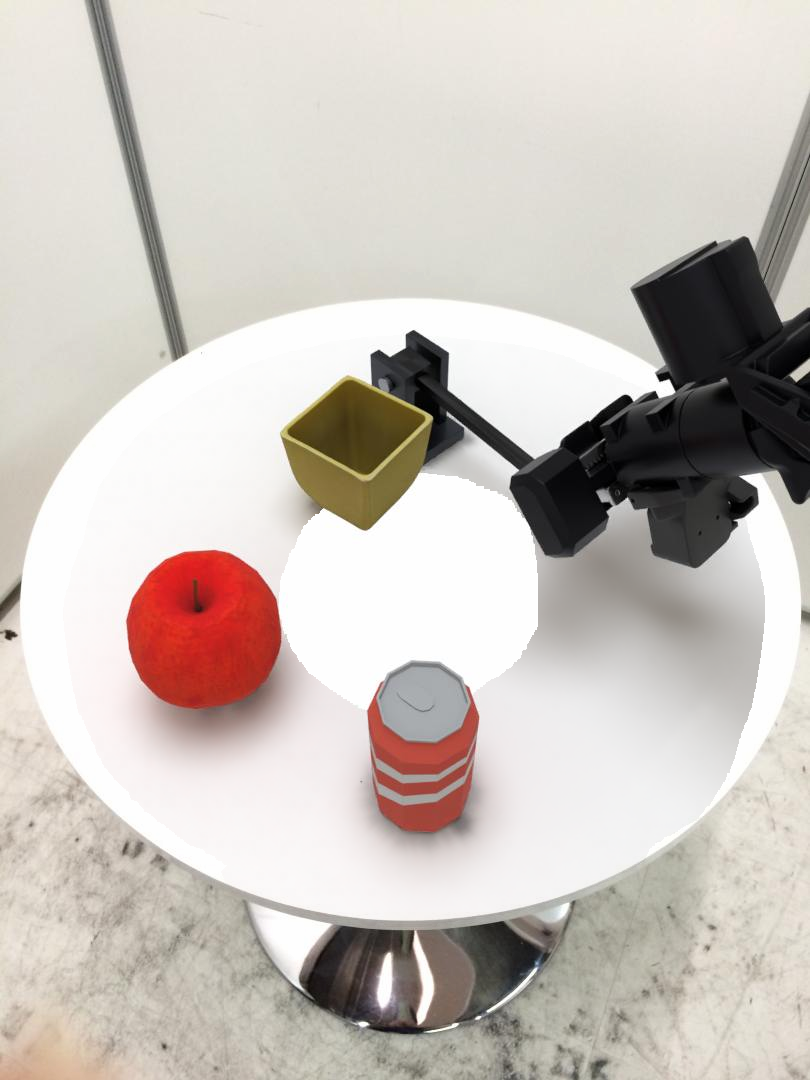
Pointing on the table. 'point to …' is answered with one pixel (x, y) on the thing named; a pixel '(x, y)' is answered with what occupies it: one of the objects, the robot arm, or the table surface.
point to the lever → (460, 408)
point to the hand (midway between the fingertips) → (552, 466)
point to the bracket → (401, 385)
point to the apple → (203, 629)
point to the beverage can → (422, 745)
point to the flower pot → (357, 450)
